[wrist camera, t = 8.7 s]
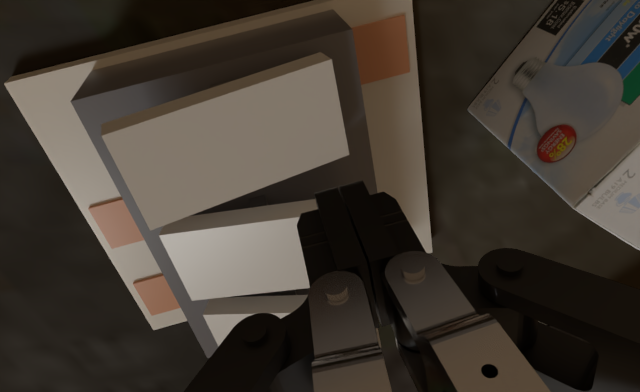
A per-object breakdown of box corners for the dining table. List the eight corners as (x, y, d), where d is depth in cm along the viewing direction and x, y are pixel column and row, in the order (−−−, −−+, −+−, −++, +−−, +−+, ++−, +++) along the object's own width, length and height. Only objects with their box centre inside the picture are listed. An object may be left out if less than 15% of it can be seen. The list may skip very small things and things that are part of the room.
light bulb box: (592, -54, 25) (801, -22, 16) (659, 15, 28) (867, 74, 19) (460, 113, 29) (570, 213, 20) (531, 158, 32) (653, 263, 23)
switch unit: (403, -23, 24) (450, -1, 19) (427, 243, 34) (461, 301, 29) (11, 76, 23) (-42, 125, 18) (155, 319, 33) (144, 391, 28)
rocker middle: (353, 193, 21) (353, 209, 20) (366, 264, 24) (367, 281, 23) (166, 219, 23) (158, 235, 22) (197, 283, 25) (191, 300, 24)
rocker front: (320, 52, 20) (331, 59, 19) (338, 144, 22) (349, 154, 21) (101, 123, 18) (101, 135, 17) (148, 215, 20) (150, 230, 19)
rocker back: (370, 292, 24) (369, 311, 23) (381, 346, 27) (380, 364, 26) (209, 297, 26) (202, 314, 25) (233, 347, 29) (227, 364, 28)
